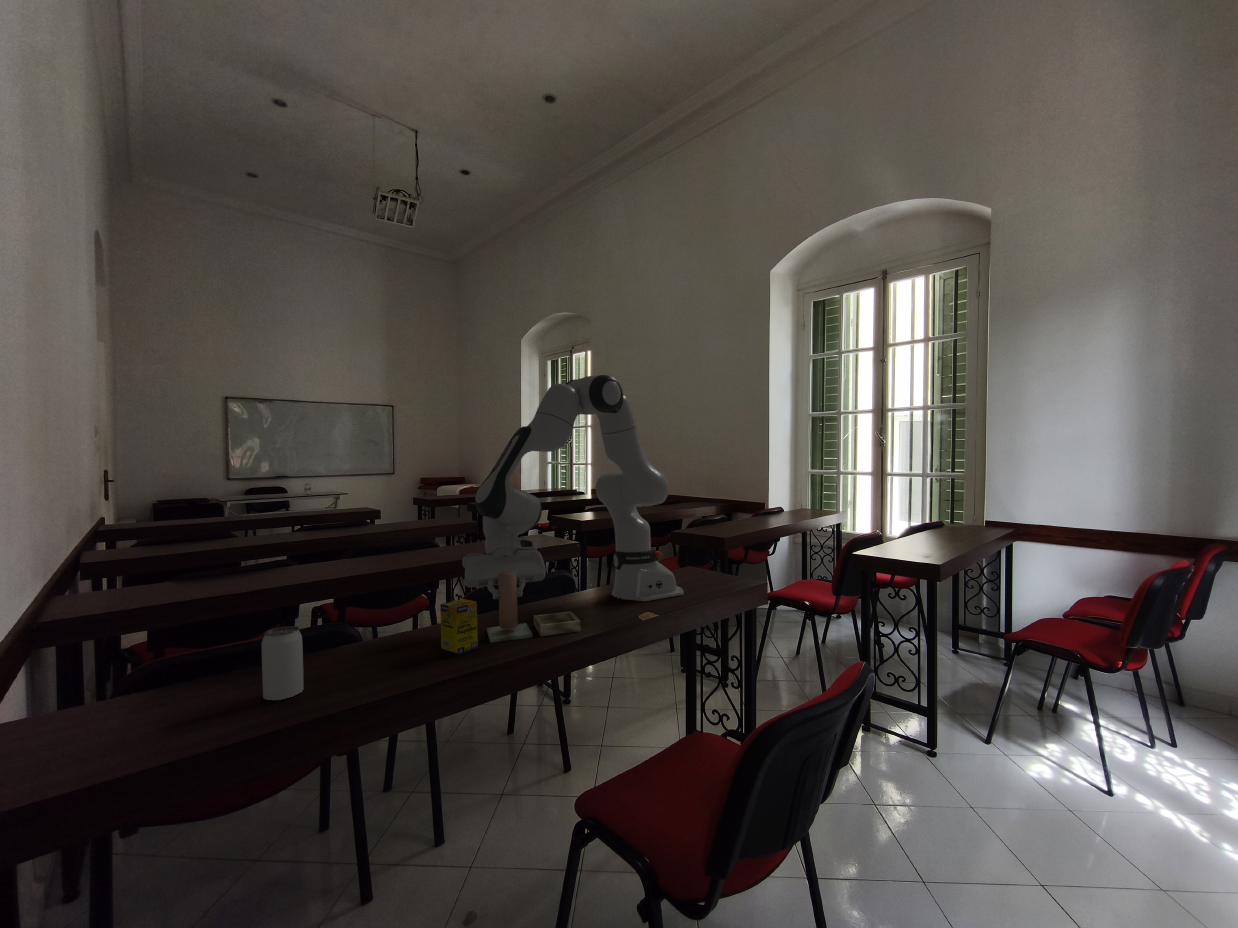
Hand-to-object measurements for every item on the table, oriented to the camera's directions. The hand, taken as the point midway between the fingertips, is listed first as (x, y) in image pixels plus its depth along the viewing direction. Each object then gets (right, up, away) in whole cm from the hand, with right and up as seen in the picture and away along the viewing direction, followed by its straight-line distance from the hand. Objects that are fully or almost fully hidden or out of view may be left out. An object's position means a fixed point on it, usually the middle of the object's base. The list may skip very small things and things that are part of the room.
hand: (508, 596), depth 135 cm
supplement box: (-9, -10, -11) cm, 17 cm away
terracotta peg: (0, -7, +1) cm, 7 cm away
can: (-35, -11, -33) cm, 49 cm away
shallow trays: (+6, -9, +2) cm, 11 cm away
